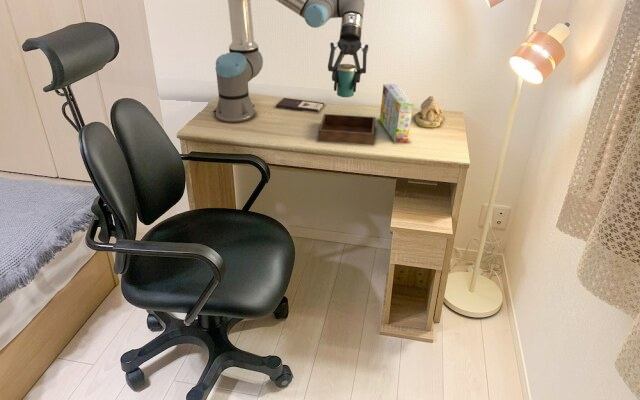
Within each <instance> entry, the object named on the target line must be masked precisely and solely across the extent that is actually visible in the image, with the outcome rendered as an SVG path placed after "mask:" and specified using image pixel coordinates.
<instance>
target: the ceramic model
mask: <svg viewBox="0 0 640 400" xmlns="http://www.w3.org/2000/svg"><path fill="white" fill-rule="evenodd" d="M442 114H443V109H442V108H441V107H440V106H439V105H438V104H437V102H436V100H435V97H434V96H432V95H429V96H428V97H427V98H426V99H425V100H423V102H422V103H421V104H420V111H417V112H416V114H415V115H414V120H415V122H416V124H417V126H419V127H421V128H437V127H439V126H440V125H441V122H442V121H443V120H444V116H442Z"/></svg>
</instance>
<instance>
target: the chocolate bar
mask: <svg viewBox="0 0 640 400" xmlns="http://www.w3.org/2000/svg"><path fill="white" fill-rule="evenodd" d="M275 106H276V108H280V109H287V110H293V111H301V112H302V111H306V112H311V113H318V112H320V110H321V109H323V107H324V106H325V103H324V102H320V101H312V100H304V99H297V98H289V97H283V98H282V99H281V100H280V101H278V103H276V105H275Z"/></svg>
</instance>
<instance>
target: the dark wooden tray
mask: <svg viewBox="0 0 640 400" xmlns="http://www.w3.org/2000/svg"><path fill="white" fill-rule="evenodd" d="M375 124H376V116H364V115H363V116H362V115H348V114H347V115H346V114H333V113H323V116H322V119H321V122H320V125H319V128H318V141H319V142H332V143H345V144H361V145H374V137H375V126H376V125H375Z"/></svg>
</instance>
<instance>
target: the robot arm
mask: <svg viewBox="0 0 640 400" xmlns="http://www.w3.org/2000/svg"><path fill="white" fill-rule="evenodd" d="M275 1H276V2H278V3H279V4H281V5H283V6H284V7H286V8H287V9H289V10H290V11H292V12H294V13H295V14H297V15H298V16H300V17H302V18H303V19H304V21H305V23H306V24H307V25H308V26H309V27H311V28H313V29H316V28H320V27H322V26H324V25H325V24H326V23H328V21H329V20H331V19H337V18H338V19H339V18H340V19H341V21H340V22H341V23H340V30H339V31H340V32H339V39H338V41H337V42H336V43H335V42H330V43H329V45H330V53H329V58H328V63H327V71H328V72H331V81H332V82H334V83H333V91H334V92H337V79H338V65H340V64H342V61H343V59H344V57H345V56H348V55H349V56H352V58H353V62H354V65H355V66H356V70H355V77H354V87H353V92H354V93H356V92H357V91H356V90H357V84H360V82H361V75H362V74H366V73H367V54H368V52H369V44H367V43H366V44H362V42H361V39H362V29H363V21H364V20H363V19H364V9H365V5H366V4H365V0H275ZM227 3H228V4H227V5H228V14H229V23H230V25H229V26H230V33H231V43H230V44H229V45H228V52H226V53H222V54H221V55H219V56H218V57H217V58H216V60H215V68H214V69H215V73H216V83H217V92H218V93H217V94H218V100H217V105H216V108H215V109H214V110H213V111H212V113H215V116H216V118H217V120H219V121H221V122H225V123H242V122H247V121H249V120H251V119H253V118H254V117H255V104H253V103H252V101H251V98H250V93H249V92H250V91H249V83H250V81H252V79H254V78H255V77H257V76H258V75H259V74H260V72H261V71H262V69H263V66H264V58H263V55H262V53H261V52H260V51H259V44H258V43H256V41H255V38H254V24H253V11H252V1H251V0H227ZM337 48H338V49H339V50H340V51H339V54H338V56H337V58H336V60H335V61H334V59H335V54H336V50H337ZM360 49H361V52H362V67H361V64H360V61H359V56H358V51H360Z"/></svg>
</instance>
